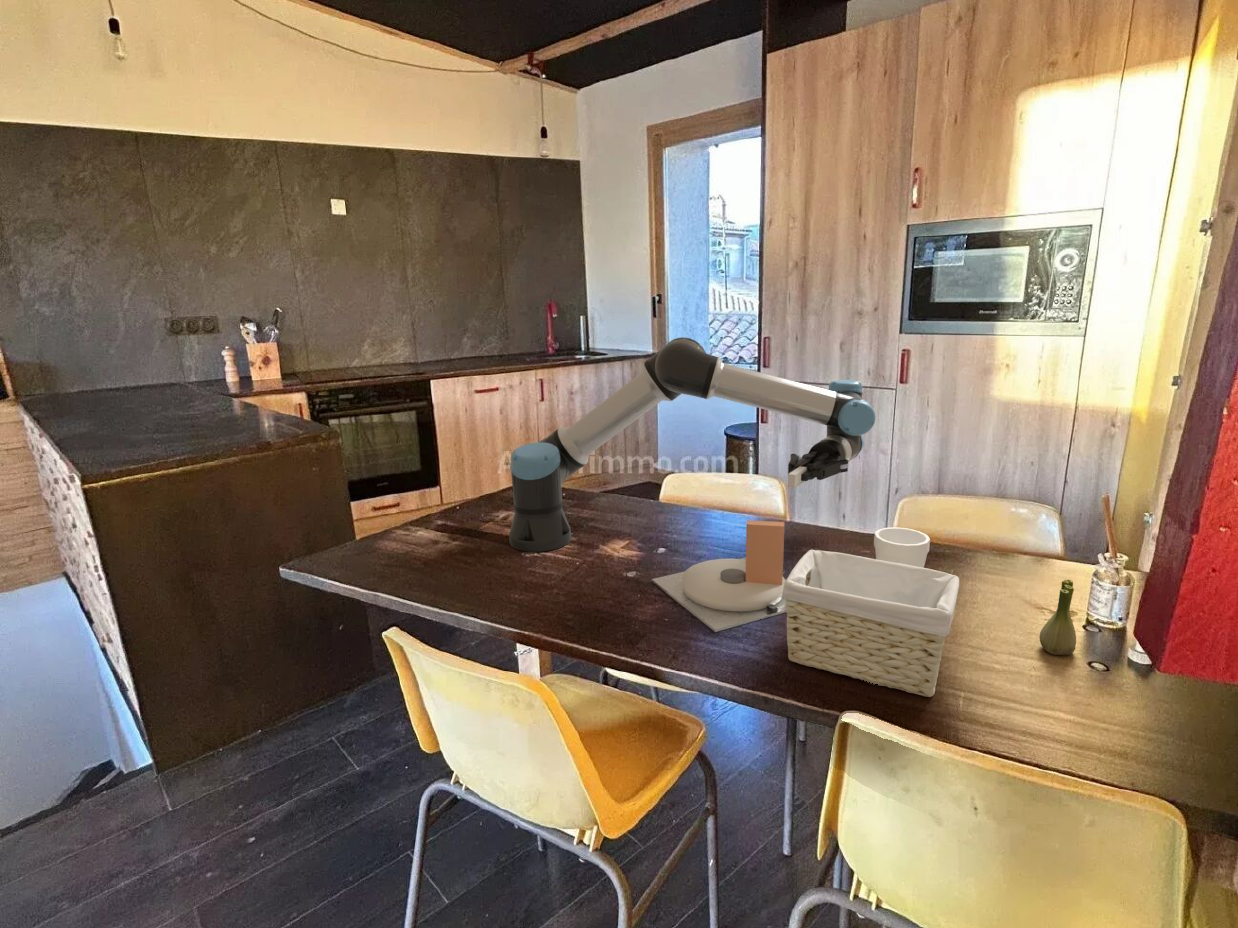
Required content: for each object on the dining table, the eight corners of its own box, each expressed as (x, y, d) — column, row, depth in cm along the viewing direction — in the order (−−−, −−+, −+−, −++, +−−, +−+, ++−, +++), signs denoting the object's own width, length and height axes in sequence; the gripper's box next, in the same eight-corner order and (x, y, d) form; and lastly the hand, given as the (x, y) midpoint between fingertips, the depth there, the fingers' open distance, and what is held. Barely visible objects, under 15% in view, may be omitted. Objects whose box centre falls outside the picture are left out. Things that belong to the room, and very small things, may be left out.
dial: (674, 605, 124) (673, 536, 120) (691, 564, 143) (690, 502, 139) (783, 615, 119) (785, 543, 115) (785, 571, 137) (788, 507, 134)
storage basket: (952, 654, 106) (961, 570, 102) (943, 709, 93) (953, 614, 89) (804, 622, 118) (807, 545, 114) (777, 666, 105) (779, 581, 101)
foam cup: (924, 593, 127) (930, 530, 124) (923, 615, 119) (930, 548, 116) (872, 586, 131) (876, 525, 128) (868, 606, 123) (872, 541, 120)
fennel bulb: (1058, 662, 103) (1069, 592, 100) (1028, 648, 107) (1038, 580, 104) (1082, 653, 105) (1093, 585, 102) (1052, 639, 110) (1062, 573, 106)
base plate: (651, 581, 137) (651, 575, 136) (747, 559, 146) (747, 553, 146) (715, 632, 115) (715, 625, 115) (821, 602, 125) (822, 595, 125)
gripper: (858, 474, 146) (823, 503, 128) (801, 467, 154) (760, 494, 135) (859, 441, 144) (824, 466, 126) (802, 436, 152) (761, 459, 133)
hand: (791, 480), depth 130 cm, fingers closed
